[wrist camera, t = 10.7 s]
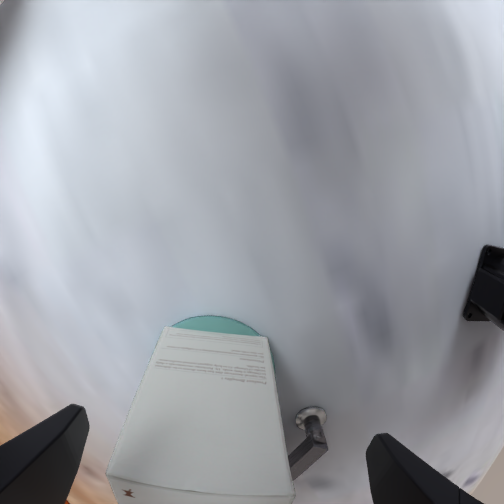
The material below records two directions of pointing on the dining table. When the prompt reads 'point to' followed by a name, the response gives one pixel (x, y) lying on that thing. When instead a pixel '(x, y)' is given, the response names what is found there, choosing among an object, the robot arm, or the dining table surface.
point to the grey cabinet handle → (308, 440)
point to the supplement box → (204, 426)
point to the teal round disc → (218, 326)
